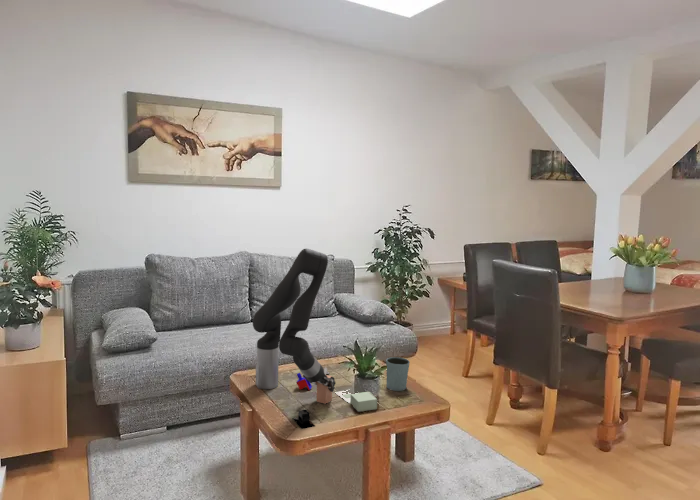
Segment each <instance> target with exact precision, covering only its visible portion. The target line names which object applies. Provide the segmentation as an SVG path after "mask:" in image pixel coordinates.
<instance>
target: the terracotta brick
mask: <svg viewBox="0 0 700 500" xmlns="http://www.w3.org/2000/svg"><path fill="white" fill-rule="evenodd" d="M326 376H327V377H328V378H331V377H333V375H326ZM331 401H333V392H331V391H330V390H329V389H328V388H327V387H326V386H323V385H322V384H321V383H318V382H317V385H316V402H318V403H322V404H324V405H327V404H329V403H330V402H331ZM326 403H327V404H326Z"/></svg>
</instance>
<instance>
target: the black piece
mask: <svg viewBox="0 0 700 500" xmlns="http://www.w3.org/2000/svg"><path fill="white" fill-rule="evenodd" d="M297 415H298V416H297V417H294V418H292V420H293V422H295V424H297V426H298V427H299V428H300V430H305V429H310V428H313V427H316V425H315V424H314V422H312V421H311V419H310V417H311V416H310V412H309V411H308V410H307V409H306V408H305V409H300V410H299V409H298V413H297Z"/></svg>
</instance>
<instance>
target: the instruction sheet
mask: <svg viewBox="0 0 700 500" xmlns="http://www.w3.org/2000/svg"><path fill="white" fill-rule="evenodd" d="M345 390H346V391H348V390H349V389H345ZM346 391H344V390H339V391H336V392H334V391H333V393H334V394H335V393H336V394H335V395H336V396H338V397H339V396H340V397H339V398H341V399H342V398H343V399H344V400H343V399H342V400H343V401H345V402H346V403H347V402H348V403H347V404H350V399H351V393H349V392H348V394H346V393H342V392H346ZM342 394H343V395H342Z"/></svg>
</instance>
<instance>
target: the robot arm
mask: <svg viewBox="0 0 700 500" xmlns="http://www.w3.org/2000/svg"><path fill="white" fill-rule="evenodd" d="M328 259H329V257H328V255H326V254H325V253H323V252H320V251H317V250H313V249H310V248H303V249H302V250H301V251H299V253H298V254H297V256H296V258H294V261H293V263H292V265H291V266H290V269H289V270H288V272H287V273H286V275H284V277H283V279H282V280H281V281H280V283H278V285H277V287H276V288H275V289H274V291H273V292H272V294H271V295H270V297H268V299H267V300H266V302H265V303H264V304H263V305H262V306H260V308H259V309H258V310H257V311H256V312H255V313H254V316H253V317H252V326H253V330H255V332H257V333H259V334H260V333H261V334H262V333H265V334H264V335H263V336H261V337H260V338H259V339H257V341H256V362H255V385H256V387H257V389H259V390H261V389H262V390H269V389H270V390H272V389H275V388H277V387H278V386H279V358H280V357H279V355H280V353H281V354H282V355H286V356H291V357H292V361H293V363H294V364H295V366H296V367H297V368H298V370H299V371H300V373H302V374H301V375H302V378H303V377H304V378H305V379H306V380H308V381H309V382H310V383H314V384H313V385H315V386H317V382H318V383H321V384H322V385H323V386H326V387H327V388H328V389H329V390H330V391H331V392H332V393H334V391H335V388H336V387H335V385H336V380H335V378H334V377H333V376H332V377H331V378H328V377H327V376H326V375H325V374H324V367H323V365H322V364H321V363H320V362H319V360H318V359H317V357H315V356H314V355H313V354H312V353H311V351H310V350H311V349H310V345H309V342H308V341H307V340H306V339H305V338H303V337H299V336H296V335H297V334H298V332H305V331H307V329H308V327H309V323H310V319H311V314H312V309H313V307H314V303H315V300H316V298H317V295H318V292H319V290H320V287H321V285H322V282H323V280H324V277H325V274H326V271H327V268H328V263H329V260H328ZM301 274H306V275H309V276H312V279H311V282H310V285H309V286H308V287H307V289H306V290H305V291H303V293H302V294H301V290H302V289H301V282H300V279H299V278H300V275H301ZM291 306H292V309H291V313H290V318H289V322H288V324H287V325H286V328H285V329H284V331H283V333H282V334H281V330H282V317H281V313H282V312H284V311H286V310H288V309H289V308H290V307H291ZM281 335H282V336H281ZM279 351H280V352H279Z"/></svg>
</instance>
